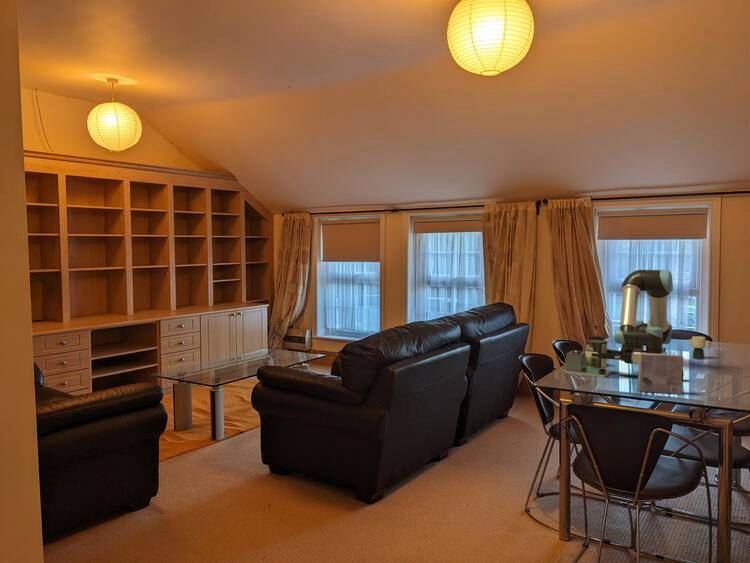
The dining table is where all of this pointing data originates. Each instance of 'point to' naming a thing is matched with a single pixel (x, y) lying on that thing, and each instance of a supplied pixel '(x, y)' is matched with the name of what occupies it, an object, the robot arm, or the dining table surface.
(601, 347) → the coffee can
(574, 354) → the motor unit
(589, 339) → the french press
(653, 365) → the cake pan box
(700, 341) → the character mug
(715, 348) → the dining table surface
